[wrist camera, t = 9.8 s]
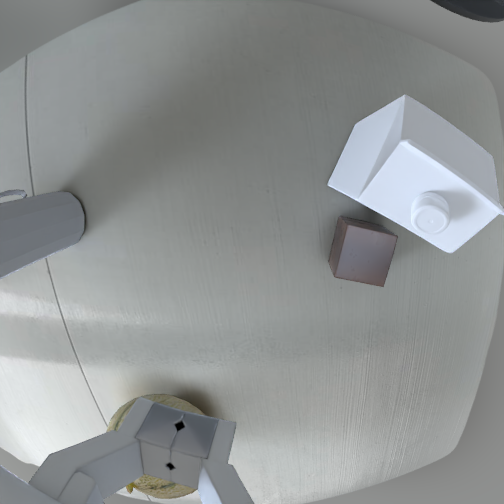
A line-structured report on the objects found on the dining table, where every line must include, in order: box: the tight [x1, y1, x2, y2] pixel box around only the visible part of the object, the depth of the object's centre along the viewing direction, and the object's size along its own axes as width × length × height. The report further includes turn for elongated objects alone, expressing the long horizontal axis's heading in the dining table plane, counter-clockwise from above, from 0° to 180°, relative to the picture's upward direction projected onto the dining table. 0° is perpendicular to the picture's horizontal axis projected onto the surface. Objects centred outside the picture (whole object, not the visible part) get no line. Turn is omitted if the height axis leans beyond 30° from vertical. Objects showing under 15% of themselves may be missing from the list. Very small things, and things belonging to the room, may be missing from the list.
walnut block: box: [328, 216, 398, 287], centre depth 30 cm, size 5×5×5 cm
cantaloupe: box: [107, 394, 205, 499], centre depth 35 cm, size 15×15×15 cm
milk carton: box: [327, 94, 504, 253], centre depth 21 cm, size 7×7×19 cm
